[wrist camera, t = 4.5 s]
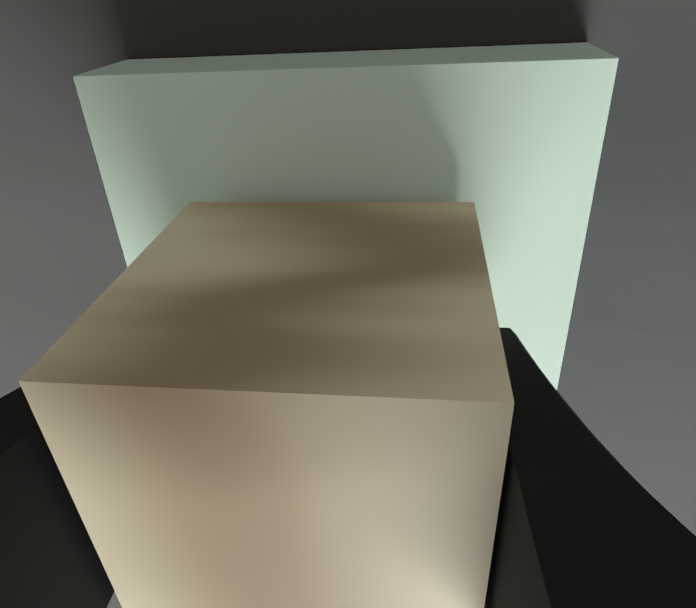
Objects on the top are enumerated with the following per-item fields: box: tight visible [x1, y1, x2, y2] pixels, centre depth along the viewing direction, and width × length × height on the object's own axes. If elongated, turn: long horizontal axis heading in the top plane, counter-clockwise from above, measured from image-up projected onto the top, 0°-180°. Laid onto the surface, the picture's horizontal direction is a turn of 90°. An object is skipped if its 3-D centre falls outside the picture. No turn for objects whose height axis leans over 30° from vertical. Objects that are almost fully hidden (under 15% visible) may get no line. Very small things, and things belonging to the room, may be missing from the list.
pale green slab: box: [73, 42, 619, 390], centre depth 12 cm, size 9×9×2 cm
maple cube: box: [19, 202, 514, 608], centre depth 9 cm, size 5×5×5 cm
